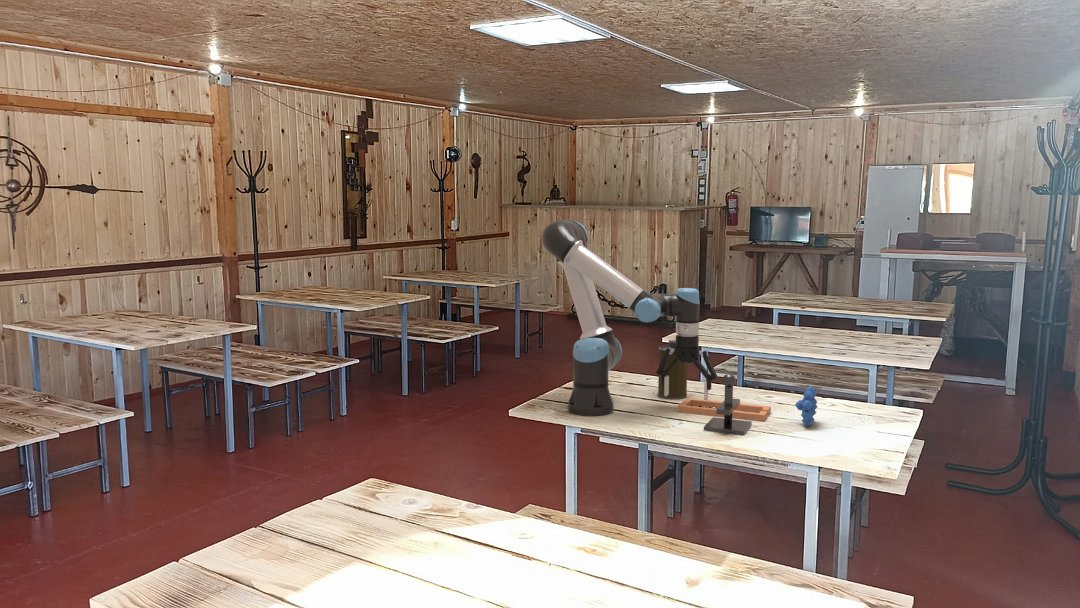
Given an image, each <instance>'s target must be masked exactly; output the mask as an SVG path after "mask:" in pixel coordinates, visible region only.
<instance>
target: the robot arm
mask: <svg viewBox="0 0 1080 608" xmlns="http://www.w3.org/2000/svg"><path fill="white" fill-rule="evenodd" d="M541 233H542V234H541V243H542V246H543V248H544V249H545V251H547V252H548V253H549V254H550V255H551V256H553V257H554V258H555V259H556V264H558V265H560V266H561V267H562V268H563V271H564V275H565V278H566V282H567V285H568V288H569V291H570V294H571V298H572V301H573V305H574V308H575V310H576V315H577V318H578V322H579V324H580V328H581V331H582V334H581V335H580V336H579V339H578V340H576V342H575V343H574V345H573V348H572V349H573V350H572V357H573V359H572V360H573V361H572V364H573V365H572V367H573V370H572V371H573V372H572V373H573V375H572V377H573V382H572V383H573V384H572V385H573V386H572V390H571V393H570V395H569V399H568V403H567V411H568V412H569V413H572V414H575V415H579V416H587V415H596V416H605V415H609V414H611V413H613V412H614V401H613V398H612V396H611V392H610V390H609V389H610V388H609V371H610V370H613V369H614V368H615V367H617V365H618V364H619V363H620V360H621V358H622V354H623V350H622V345H621V343H620V341H619V340H618V339H617V338H616V337H615V335H614V331H613V328H611V327H609V326H608V325H607V323H606V319H605V316H604V313H603V309H602V306H601V303H600V300H599V296H598V293H597V290H596V285H598V286H599V287H600V288H601V289H603V290H604V291H605V292H606V293H607V294H609V295H610V296H612V297H614V299H616V300H617V301H619V302H620V303H621V304H623V305H624V306H625V307H627V308H628V309H629V310H631V311H632V312H634V314H635V317H637V319H638V320H639V321H640V322H643V323H652V322H655V321H656V320H658V319H659V318H660V317H675V333H676V335H675V340H676V347H675V349H672V348H671V347H669V348H667V349H666V354H665V356H664V358H663V360H662V362H661V364H660V366H659V365H658V368H657V370H656V372H655V373H656V374H657V375H658V376H659V375H661V376H662V386H664V396H667V395H669V376H666V375H667V374H668V373H669V371H670V370H671V369H672V368H673V367H674V366H675V365H676V364H677V363H678V362H679V361H681V362H683V363H684V362H687V364H692V363H693V364H694V365H695V367H696V368H697V369H698V371H699V372H700V373H701V375H702V376H703V377H704V378H705V380H704V382H703V384H704V385H703V387H704V388H703V400H709V391H711V389H712V382H713V380H716V379H717V378H718V374H717V372H716V370H715V368H714V365H713V363H712V361H711V359H710V356H709V350H708V349H705V350H700V349H699V342H700V341H699V337H700V336H699V334H700V325H699V324H700V304H701V302H700V291H699V290H698V289H697V288H694V287H693V288H692V287H682V288H681V287H679V288H677V289H676V292H675V293H654V292H650V293H649V292H647V291H645V290H644V289H643V288H642V287H640V286H639V285H637V284H636V283H635V282H634V281H632V280H631V279H630V278H628V277H627V276H625V275H624V274H623V273H621V272H620V271H619V270H617V269H616V268H614V267H613V266H612V265H611V264H609V263H608V262H606V261H605V260H604V259H602V258H601V257H600V256H598V255H597V254H595V253H594V252H593V251H592V250H590V249H589V247H588V241H589V239H588V238H589V236H588V232H587V229H586V228H585V226H584V225H583V224H582V223H580V222H578V221H576V220H574V219H573V220H572V219H565V220H554V221H552V222H550V223H548V224H547V225H546V226H545V227H544V229H543V230H542V232H541ZM595 284H596V285H595ZM673 352H674V353H675V355H676V356H677V357H676V358H675V360H674V361H673V362H672V363H671V364H670V365H669V366H668V367H667V369H666V370H665V371H662V370H663V369H664V367H665V365H666V363H667V361H668V359H669V357H670V355H671V354H673ZM699 356H700V357H701V358H703V361H704V364H705V365H706V367H705V366H704V365H703V364H702V362H701V361H700V359H699ZM706 368H707V369H706Z"/></svg>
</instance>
